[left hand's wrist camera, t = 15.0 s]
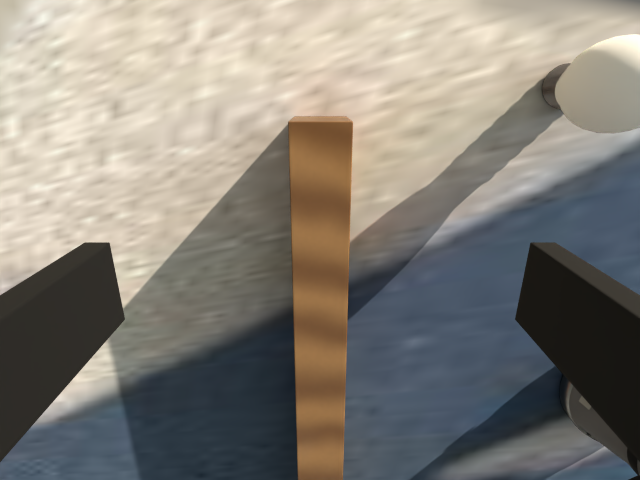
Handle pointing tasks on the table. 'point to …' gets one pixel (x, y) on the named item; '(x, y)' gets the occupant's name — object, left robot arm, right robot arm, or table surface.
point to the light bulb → (599, 86)
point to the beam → (320, 287)
